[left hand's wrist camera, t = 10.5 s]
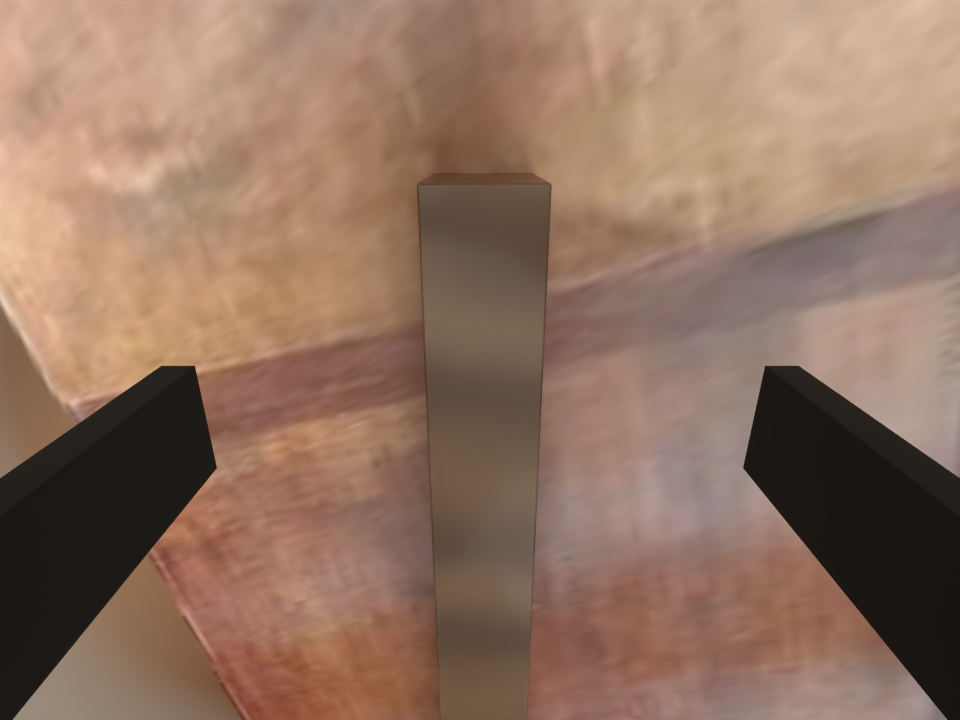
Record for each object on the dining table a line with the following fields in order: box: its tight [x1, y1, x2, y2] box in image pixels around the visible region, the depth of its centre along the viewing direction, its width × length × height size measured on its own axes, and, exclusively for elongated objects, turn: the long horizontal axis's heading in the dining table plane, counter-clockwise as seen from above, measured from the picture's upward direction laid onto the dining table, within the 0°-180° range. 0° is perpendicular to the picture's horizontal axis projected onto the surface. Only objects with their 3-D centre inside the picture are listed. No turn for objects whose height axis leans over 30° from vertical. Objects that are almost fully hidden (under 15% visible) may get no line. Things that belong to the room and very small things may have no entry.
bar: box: [417, 174, 551, 720], centre depth 39 cm, size 72×6×8 cm, turn 0°
